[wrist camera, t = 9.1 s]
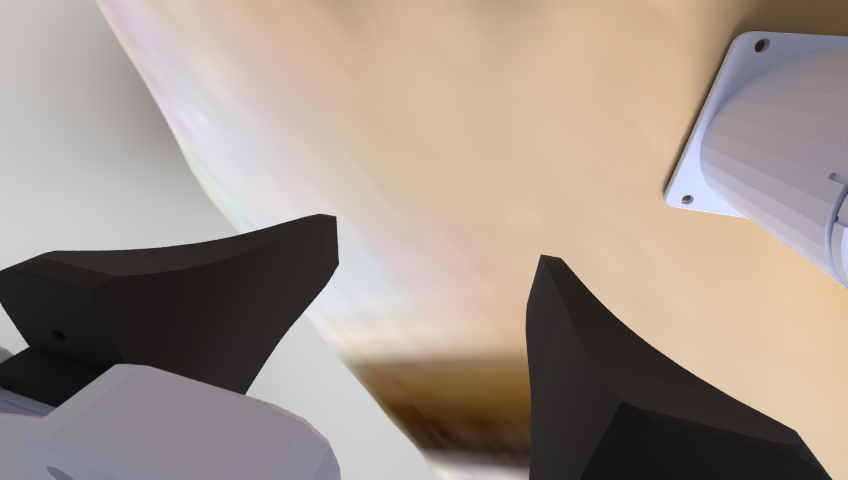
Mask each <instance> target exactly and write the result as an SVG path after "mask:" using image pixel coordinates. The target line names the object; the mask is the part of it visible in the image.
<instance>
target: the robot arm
mask: <svg viewBox="0 0 848 480" xmlns="http://www.w3.org/2000/svg"><path fill="white" fill-rule="evenodd" d="M761 39H762V40H764V42H765V45H764V47H763V49H762V50H761V51H759V52H756V51H755V49H754V48H755V45H756V43H757V42H758V41H759V40H761ZM686 195H690V199H689V200H688V201H686V202H681V201H682V198H683V197H684V196H686ZM664 201H665V202H666V203H667V204H668V205H669V206H672V207H677V208H684V209H690V210H697V211H703V212H710V213H716V214H723V215H729V216H736V217H742V218H748V219H749V220H751V221H752V222H753V223H755V224H756V225H758V226H759V227H760V228H762V229H763V230H765V231H766V232H768V233H769V234H770V235H772V236H773V237H775V238H776V239H777V240H779V241H780V242H782V243H783V244H785V245H786V246H787V247H789V248H790V249H792V250H793V251H794V252H796V253H797V254H799V255H800V256H802V257H803V258H804V259H806V260H807V261H809V262H810V263H811V264H813V265H814V266H816V267H817V268H819V269H820V270H821V271H823V272H824V273H826V274H827V275H828V276H830V277H831V278H833V279H834V280H836V281H837V282H838V283H840V284H841V285H843V286H844V287H845V288H847V289H848V37H847V36H830V35H813V34H797V33H780V32H763V31H751V32H745V33H742V34H740V35H739V36H738V37H736V38H735V39H734V41H733V42H732V44H731V46H730V48H729V50H728V52H727V55H726V57H725V59H724V61H723V64H722V66H721V68H720V70H719V73H718V75H717V77H716V79H715V82H714V84H713V86H712V88H711V91H710V93H709V95H708V97H707V100H706V102H705V104H704V106H703V108H702V111H701V113H700V115H699V117H698V120H697V122H696V124H695V126H694V129H693V131H692V133H691V135H690V138H689V140H688V142H687V144H686V147H685V149H684V151H683V153H682V156H681V158H680V160H679V162H678V165H677V167H676V169H675V171H674V174H673V176H672V178H671V180H670V182H669V185H668V187H667V189H666V191H665V194H664ZM338 265H339V258H338V239H337V221H336V216H330V215H325V214H316V215H311V216H307V217H303V218H299V219H296V220H292V221H289V222H285V223H282V224H278V225H275V226H271V227H268V228H264V229H260V230H257V231H253V232H249V233H245V234H241V235H237V236H233V237H229V238H223V239H218V240H212V241H207V242H201V243H194V244H186V245H179V246H170V247H161V248H148V249H135V250H112V251H111V250H110V251H52V252H47V253H44V254H41V255H38V256H36V257H33V258H31V259H28V260H26V261H23V262H21V263H18V264H16V265H13V266H11V267H8V268H6V269H3V270H1V271H0V303H1V304H2V306H3V308H4V310H5V311H6V313H7V314H8V316H9V317H10V319H11V320H12V321H13V323H14V324H15V326H16V328H17V329H18V331H19V332H20V333H21V335H22V336H23V338H24V339H25V341H26V342H27V344H28V345H29V346H30V347H28V348H26V349H25V350H23V351H21V352H19V353H18V354H16V355H13V354H12V353H11V352H9V351H8V350H7V349H5V348H2V347H0V480H341V477H340V468H339V465H338V462H337V459H336V457H335V455H334V453H333V450H332V448H331V446H330V444H329V442H328V440H327V439H326V438H325V437H324V436H323V435H322V434H320V432H319V431H317V430H316V429H315V428H314V427H313V426H312V425H311V424H310V423H309V422H307V421H306V420H305V419H304V418H302V417H300V416H298V415H296V414H293V413H291V412H289V411H287V410H285V409H283V408H281V407H279V406H276V405H274V404H271V403H268V402H265V401H261V400H258V399H255V398H252V397H248V396H245V394H246V392H247V391H248V389H249V387H250V386H251V384H252V382H253V381H254V379H255V378H256V376H257V375H258V373H259V372H260V370H261V368H262V367H263V365H264V364H265V362H266V361H267V359H268V357H269V356H270V355H271V353H272V352H273V350H274V349H275V347H276V346H277V344H278V343H279V342H280V340H281V339H282V337H283V336H284V335H285V334H286V332H287V331H288V330H289V328H290V327H291V326H292V325H293V324H294V322H295V321H296V320H297V319H298V318H299V317H300V316H301V314H302V313H303V312H304V311H305V310H306V309H307V307H308V306H309V305H310V304H311V303H312V302H313V300H314V299H315V298H316V297H317V296H318V294H319V293H320V292H321V291H322V290H323V288H324V287H325V286H326V285H327V283H328V282H329V280H330V278H331V277H332V275H333V274H334V272H335V270H336V268H337V267H338ZM526 342H527V354H528V365H529V376H530V387H531V445H530V474H529V480H832V479H831V477H830V476H829V475H828V473H827V472H826V471H825V469H824V468H823V467H822V465H821V464H820V463H819V461H818V460H817V459H816V457H815V456H814V455H813V453H812V452H811V451H810V449H809V448H808V447H807V445H806V444H805V443H804V441H803V440H802V439H801V437H800V436H799V435H798V433H797V432H796V431H795V430H793V429H791V428H789V427H787V426H785V425H783V424H782V423H780V422H778V421H776V420H774V419H772V418H770V417H768V416H766V415H765V414H763V413H761V412H759V411H757V410H755V409H753V408H751V407H749V406H747V405H746V404H744V403H742V402H740V401H738V400H736V399H734V398H732V397H731V396H729V395H727V394H725V393H724V392H722V391H720V390H719V389H717V388H715V387H714V386H712V385H710V384H709V383H707V382H705V381H704V380H702V379H700V378H699V377H697V376H695V375H694V374H692V373H691V372H689V371H688V370H686V369H684V368H683V367H681V366H680V365H678V364H677V363H675V362H674V361H672V360H671V359H670V358H668V357H667V356H665V355H664V354H662V353H661V352H660V351H658V350H657V349H655V348H654V347H652V346H651V345H650V344H648V343H647V342H646V341H644V340H643V339H642V338H641V337H639V336H638V335H637V334H636V333H635V332H633V331H632V330H631V329H630V328H628V327H627V326H626V325H625V324H624V323H622V322H621V321H620V320H619V319H618V318H617V317H616V316H615V315H613V314H612V313H611V312H610V311H609V310H608V309H607V308H606V307H605V306H604V305H603V304H602V303H601V302H600V301H599V300H598V299H597V298H596V297H595V296H594V295H593V294H592V293H591V292H590V291H589V289H588V288H587V287H586V286H585V285H584V284H583V283H582V282H581V280H580V279H579V278H578V277H577V276H576V275H575V274H574V272H573V271H572V270H571V269H570V268H569V267H568V265H567V264H566V263H565V262H564V261H563V260H562V259H561V258H558V257H552V256H547V255H541V256H540V260H539V263H538V267H537V270H536V274H535V277H534V281H533V284H532V288H531V292H530V295H529V299H528V302H527V311H526Z"/></svg>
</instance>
